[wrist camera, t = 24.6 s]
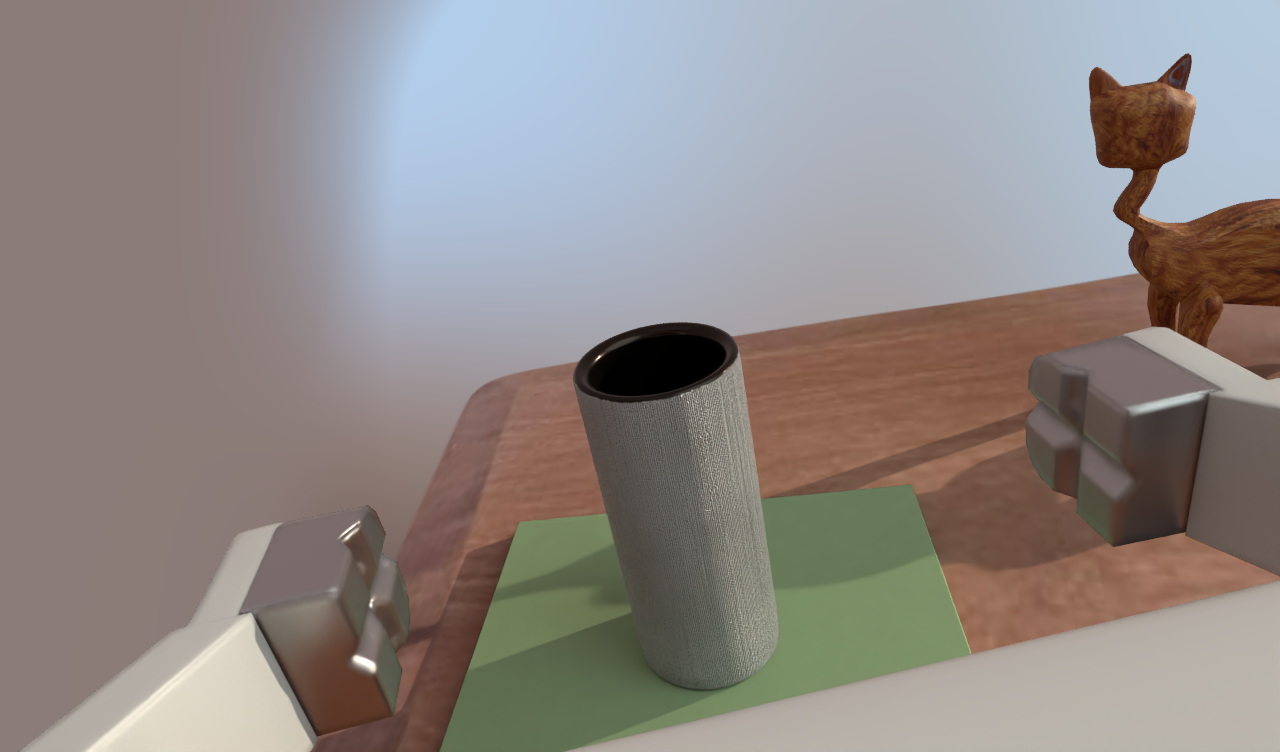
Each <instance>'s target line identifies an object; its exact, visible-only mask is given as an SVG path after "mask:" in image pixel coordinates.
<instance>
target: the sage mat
mask: <svg viewBox="0 0 1280 752" xmlns="http://www.w3.org/2000/svg"><path fill="white" fill-rule="evenodd" d="M761 504H762V511H763V517H764V524H765V531H766V538H767V545H768V552H769V559H770V566H771V573H772V580H773V587H774V594H775V601H776V608H777V615H778V629H779V634H778V641H777V645H776V648H775V650H774V652H773V654H772V655H771V657H770V658H769V660H768V661H767V662H766V664H765V665H764V666H763V667H762V668H761V669H759V670H758V671H757V672H756V673H754V674H753V675H752V676H750V677H748V678H747V679H745V680H743V681H741V682H738V683H736V684H733V685H730V686H727V687H723V688H717V689H709V690H699V689H690V688H685V687H681V686H678V685H675V684H672V683H670V682H668V681H666V680H665V679H663V678H661V677H660V676H659V675H658V674H656V673H655V672H654V671H653V670H652V668H651V667H650V666H649V664H648V663H647V661H646V659H645V657H644V654H643V651H642V648H641V645H640V642H639V638H638V634H637V630H636V627H635V623H634V619H633V615H632V611H631V607H630V603H629V599H628V595H627V591H626V587H625V583H624V579H623V575H622V572H621V568H620V564H619V560H618V556H617V552H616V548H615V544H614V540H613V536H612V532H611V528H610V524H609V520H608V516H607V514H599V515H588V516H578V517H568V518H557V519H547V520H536V521H526V522H519V523H518V526H517V529H516V531H515V534H514V537H513V540H512V543H511V546H510V549H509V552H508V555H507V557H506V560H505V563H504V566H503V569H502V572H501V575H500V578H499V580H498V583H497V586H496V589H495V592H494V595H493V598H492V601H491V604H490V606H489V609H488V612H487V615H486V618H485V621H484V624H483V627H482V629H481V632H480V635H479V638H478V641H477V644H476V647H475V650H474V653H473V655H472V658H471V661H470V664H469V667H468V670H467V673H466V676H465V678H464V681H463V684H462V687H461V690H460V693H459V696H458V699H457V702H456V704H455V707H454V710H453V713H452V716H451V719H450V722H449V725H448V728H447V730H446V733H445V736H444V739H443V742H442V745H441V748H440V751H439V752H565V751H569V750H573V749H578V748H582V747H586V746H590V745H594V744H598V743H603V742H607V741H611V740H615V739H619V738H624V737H628V736H632V735H636V734H640V733H645V732H649V731H653V730H657V729H661V728H665V727H670V726H674V725H678V724H682V723H686V722H691V721H695V720H699V719H703V718H707V717H712V716H716V715H720V714H724V713H728V712H732V711H737V710H741V709H745V708H749V707H753V706H758V705H762V704H766V703H770V702H774V701H779V700H783V699H787V698H791V697H795V696H799V695H804V694H808V693H812V692H816V691H820V690H825V689H829V688H833V687H837V686H841V685H846V684H850V683H854V682H858V681H862V680H866V679H871V678H875V677H879V676H883V675H887V674H891V673H895V672H900V671H904V670H908V669H912V668H916V667H920V666H924V665H929V664H933V663H937V662H941V661H945V660H949V659H953V658H958V657H962V656H966V655H970V654H972V653H971V651H970V648H969V645H968V642H967V639H966V637H965V634H964V631H963V628H962V625H961V622H960V620H959V617H958V614H957V611H956V608H955V605H954V603H953V600H952V597H951V594H950V591H949V588H948V586H947V583H946V580H945V577H944V574H943V572H942V569H941V566H940V563H939V560H938V557H937V555H936V552H935V549H934V546H933V543H932V540H931V538H930V535H929V532H928V529H927V526H926V523H925V521H924V518H923V515H922V512H921V509H920V507H919V504H918V501H917V498H916V495H915V492H914V490H913V487H912V485H902V486H892V487H881V488H871V489H860V490H850V491H840V492H829V493H819V494H808V495H798V496H787V497H777V498H766V499H761Z"/></svg>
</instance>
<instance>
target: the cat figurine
mask: <svg viewBox="0 0 1280 752" xmlns="http://www.w3.org/2000/svg"><path fill="white" fill-rule="evenodd" d="M1191 62H1192V61H1191V55H1190V54H1189V53H1188V54H1185V55H1184V56H1182V57H1181V58H1180V59H1179V60H1178V61H1177V62H1176V63H1175V64H1174V65H1173V66H1172V67H1171V68H1170V69H1169V70H1168V71H1167V72H1166V73H1165V74H1164V75H1163V76H1162V77H1160V78H1159V79H1158V80H1157V81H1155V82H1150V83H1143V84H1137V85H1131V86H1121V85H1120V84H1119V83H1118V82H1117V81H1116V80H1115V79H1114V78H1113V77H1112V76H1110V75H1109V74H1108V73H1107V72H1105V71H1104V70H1102V69H1101V68H1098V67H1096V68H1094V69H1093V70H1092V71H1091V74H1090V77H1089V90H1090V99H1091V103H1090V115H1091V122H1092V127H1093V131H1094V136H1095V142H1096V155H1097V158H1098V161H1099V163H1100V164H1101V165H1102V166H1105V167H1108V168H1130V169H1132V170H1133V177H1132V180H1131V182H1130V183H1129V185H1128V186H1127V187H1126V188H1125V190H1124V191H1123V192H1122V194H1121V195H1120V197H1119V198H1118V200H1117V201H1116V203H1115V205H1114V209H1113V212H1114V213H1115V215H1116V217H1117V218H1119V219H1120V220H1121V221H1123V222H1125V223H1127V224H1128V225H1130V226H1131V227H1133V228H1134V232H1133V236H1132V237H1131V239H1130V241H1129V256H1130V259H1131V261H1132V263H1133V265H1134V267H1135V268H1136V269H1137V271H1138V272H1139V273H1140V274H1141V275H1142V276H1143V277H1144V278H1145V279H1146V280H1147V281H1149V282H1150V285H1149V290H1148V310H1149V315H1150V320H1151V324H1152V327H1164V328H1169V329H1171V330H1173V331H1174V332H1176V329H1177V309H1178V304H1179V302H1180V308H1179V320H1178V334H1180V335H1182V336H1184V337H1186V338H1188V339H1190V340H1191V341H1193V342H1195V343H1197V344H1199V345H1201V346H1203V347H1205V348H1207V341H1208V337H1209V335H1210V333H1211V331H1212V329H1213V327H1214V326H1215V324H1216V322H1217V321H1218V319H1219V318H1220V315H1221V313H1222V310H1223V303H1225V304H1243V305H1263V306H1280V199H1265V200H1258V201H1252V202H1245V203H1240V204H1236V205H1233V206H1230V207H1227V208H1223V209H1220V210H1218V211H1215V212H1213V213H1211V214H1208V215H1206V216H1204V217H1201V218H1198V219H1195V220H1193V221H1190V222H1187V223H1164V222H1159V221H1156V220H1152V219H1150V218H1147V217H1145V216H1143V215H1141V214H1140V207H1141V206H1142V204H1143V203H1144V202H1145V200H1146V199H1147V197H1148V195H1149V194H1150V192H1151V190H1152V188H1153V186H1154V184H1155V182H1156V178H1157V175H1158V172H1159V169H1160V168H1161V167H1162V165H1163V164H1165V163H1167V162H1169V161H1172V160H1174V159H1176V158H1178V157H1180V156H1181V155H1183V154H1185V153H1186V151H1187V149H1188V144H1189V136H1190V130H1191V127H1192V123H1193V119H1194V115H1195V109H1196V100H1195V97H1193V96H1192V95H1191V94H1188V93H1187V92H1185V89H1186V85H1187V81H1188V77H1189V73H1190V70H1191Z"/></svg>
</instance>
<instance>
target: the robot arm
mask: <svg viewBox="0 0 1280 752" xmlns="http://www.w3.org/2000/svg"><path fill="white" fill-rule="evenodd" d="M1028 389H1029V391H1030V392H1031V393H1032V394H1033V395H1034V396H1035V397H1036V399H1037V400H1038V401H1039V402H1038V403H1037V405H1036V406H1035V408H1034V409H1033V411H1032V412H1031V414H1030V415H1029V416H1028V418H1027V419H1026V445H1027V448H1028V452H1029V455H1030V458H1031V462H1032V464H1033V466H1034V468H1035V469H1036V471H1037V473H1038V474H1039V476H1040V477H1041V479H1042V480H1043V481H1044V482H1045V483H1046V484H1047V485H1048V486H1049V487H1050V488H1051V489H1052V490H1053V491H1056V492H1059V493H1062V494H1065V495H1068V496H1071V497H1074V498H1077V511H1076V513H1077V514H1078V515H1080V516H1081V517H1082V518H1083V519H1084V520H1085V521H1086V522H1087V523H1088V524H1089V525H1090V526H1091V527H1092V528H1093V529H1094V530H1095V531H1097V532H1098V533H1099V534H1100V535H1101V536H1102V537H1103V538H1104V539H1105V540H1106V541H1107V542H1108V543H1109V544H1110V545H1111V546H1112V547H1116V546H1121V545H1125V544H1130V543H1135V542H1140V541H1145V540H1150V539H1154V538H1159V537H1164V536H1169V535H1174V534H1179V533H1183V532H1186V534H1185V535H1186V536H1188V537H1190V538H1193V539H1195V540H1197V541H1199V542H1202V543H1204V544H1206V545H1209V546H1211V547H1213V548H1216V549H1218V550H1220V551H1223V552H1225V553H1227V554H1230V555H1232V556H1234V557H1237V558H1239V559H1241V560H1244V561H1246V562H1248V563H1251V564H1253V565H1255V566H1257V567H1260V568H1262V569H1264V570H1267V571H1269V572H1271V573H1274V574H1276V575H1278V576H1280V378H1276V379H1272V380H1265V379H1263V378H1262V377H1260V376H1258V375H1256V374H1254V373H1252V372H1250V371H1248V370H1246V369H1245V368H1243V367H1241V366H1239V365H1237V364H1235V363H1233V362H1231V361H1229V360H1227V359H1226V358H1224V357H1222V356H1220V355H1218V354H1216V353H1214V352H1212V351H1210V350H1209V349H1207V348H1205V347H1203V346H1201V345H1199V344H1197V343H1195V342H1193V341H1191V340H1190V339H1188V338H1186V337H1184V336H1182V335H1180V334H1178V333H1176V332H1174V331H1173V330H1171V329H1169V328H1164V327H1150V328H1146V329H1142V330H1139V331H1135V332H1131V333H1127V334H1123V335H1120V336H1116V337H1113V338H1109V339H1105V340H1101V341H1097V342H1093V343H1089V344H1085V345H1081V346H1077V347H1073V348H1069V349H1065V350H1061V351H1057V352H1053V353H1049V354H1045V355H1041V356H1038V357H1034V359H1033V362H1032V364H1031V367H1030V369H1029V378H1028ZM385 535H386V533H385V531H384V529H383V527H382V524H381V522H380V520H379V517H378V515H377V513H376V511H375V510H373V509H372V508H371V507H370V506H368V505H366V506H361V507H356V508H352V509H347V510H342V511H337V512H332V513H327V514H322V515H317V516H312V517H308V518H303V519H298V520H293V521H288V522H285V523H276V524H272V525H268V526H264V527H260V528H256V529H251V530H247V531H244V532H242V533H239V534H237V535H235V536H234V538H233V540H232V542H231V543H230V545H229V547H228V549H227V551H226V553H225V555H224V557H223V559H222V561H221V563H220V564H219V566H218V568H217V570H216V572H215V574H214V576H213V578H212V580H211V582H210V584H209V586H208V588H207V590H206V591H205V593H204V595H203V597H202V599H201V601H200V603H199V605H198V607H197V609H196V610H195V613H194V614H193V616H192V618H191V620H190V622H189V624H188V626H187V627H185V628H181V629H177V630H173V631H171V632H170V633H169V634H168V635H166V636H165V637H164V638H162V639H161V640H160V641H159V642H157V643H156V644H155V645H154V646H152V647H151V648H150V649H149V650H147V651H146V652H145V653H143V654H142V655H141V656H140V657H138V658H137V659H136V660H135V661H133V662H132V663H131V664H129V665H128V666H127V667H126V668H124V669H123V670H122V671H121V672H119V673H118V674H117V675H115V676H114V677H113V678H112V679H110V680H109V681H108V682H107V683H105V684H104V685H103V686H102V687H100V688H99V689H98V690H97V691H95V692H94V693H93V694H91V695H90V696H89V697H87V698H86V699H85V700H84V701H82V702H81V703H80V704H79V705H77V706H76V707H75V708H73V709H72V710H71V711H70V712H68V713H67V714H66V715H65V716H63V717H62V718H61V719H60V720H58V721H57V722H56V723H54V724H53V725H52V726H51V727H49V728H48V729H47V730H46V731H44V732H43V733H42V734H41V735H39V736H38V737H37V738H35V739H34V740H33V741H32V742H30V743H29V744H28V745H26V746H25V747H24V748H23V749H21V750H20V751H19V752H310V751H311V750H312V748H313V747H314V746H315V744H316V743H317V742H318V738H317V736H321V735H324V734H328V733H332V732H336V731H340V730H343V729H347V728H351V727H355V726H358V725H362V724H366V723H370V722H374V721H377V720H381V719H385V718H389V717H393V716H394V714H395V708H396V702H397V697H398V691H399V685H400V680H401V674H402V668H401V665H400V663H399V661H398V658H397V656H396V654H395V653H396V652H397V651H398V650H399V649H400V648H401V647H402V646H403V644H404V643H405V642H406V641H407V639H408V632H409V625H410V614H409V598H408V594H407V590H406V586H405V581H404V578H403V575H402V573H401V570H400V568H399V565H398V563H397V562H395V561H394V560H392V559H391V558H389V557H387V556H385V555H384V554H382V553H381V552H382V548H383V543H384V539H385ZM565 752H1280V581H1276V582H1272V583H1267V584H1263V585H1259V586H1255V587H1251V588H1246V589H1242V590H1238V591H1234V592H1230V593H1226V594H1221V595H1217V596H1213V597H1209V598H1205V599H1200V600H1196V601H1192V602H1188V603H1184V604H1179V605H1175V606H1171V607H1167V608H1163V609H1159V610H1154V611H1150V612H1146V613H1142V614H1138V615H1133V616H1129V617H1125V618H1121V619H1117V620H1112V621H1108V622H1104V623H1100V624H1096V625H1092V626H1087V627H1083V628H1079V629H1075V630H1071V631H1066V632H1062V633H1058V634H1054V635H1050V636H1045V637H1041V638H1037V639H1033V640H1029V641H1025V642H1020V643H1016V644H1012V645H1008V646H1004V647H999V648H995V649H991V650H987V651H983V652H978V653H974V654H970V655H966V656H962V657H958V658H953V659H949V660H945V661H941V662H937V663H933V664H929V665H924V666H920V667H916V668H912V669H908V670H904V671H900V672H895V673H891V674H887V675H883V676H879V677H875V678H871V679H866V680H862V681H858V682H854V683H850V684H846V685H841V686H837V687H833V688H829V689H825V690H820V691H816V692H812V693H808V694H804V695H799V696H795V697H791V698H787V699H783V700H779V701H774V702H770V703H766V704H762V705H758V706H753V707H749V708H745V709H741V710H737V711H732V712H728V713H724V714H720V715H716V716H712V717H707V718H703V719H699V720H695V721H691V722H686V723H682V724H678V725H674V726H670V727H665V728H661V729H657V730H653V731H649V732H645V733H640V734H636V735H632V736H628V737H624V738H619V739H615V740H611V741H607V742H603V743H598V744H594V745H590V746H586V747H582V748H578V749H573V750H569V751H565Z"/></svg>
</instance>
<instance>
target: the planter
mask: <svg viewBox="0 0 1280 752" xmlns="http://www.w3.org/2000/svg"><path fill="white" fill-rule="evenodd" d="M573 382H574V386H575V390H576V394H577V398H578V402H579V406H580V410H581V414H582V418H583V422H584V426H585V430H586V434H587V438H588V442H589V446H590V450H591V454H592V457H593V461H594V465H595V469H596V473H597V477H598V481H599V485H600V489H601V493H602V497H603V501H604V505H605V509H606V513H607V516H608V520H609V524H610V528H611V532H612V536H613V540H614V544H615V548H616V552H617V556H618V560H619V564H620V568H621V572H622V575H623V579H624V583H625V587H626V591H627V595H628V599H629V603H630V607H631V611H632V615H633V619H634V623H635V627H636V630H637V634H638V638H639V642H640V645H641V648H642V651H643V654H644V657H645V659H646V661H647V663H648V664H649V666H650V667H651V668H652V670H653V671H654V672H655V673H656V674H658V675H659V676H660V677H661V678H663V679H665V680H666V681H668V682H670V683H672V684H675V685H678V686H681V687H685V688H690V689H699V690H709V689H717V688H723V687H727V686H730V685H733V684H736V683H738V682H741V681H743V680H745V679H747V678H748V677H750V676H752V675H753V674H754V673H756V672H757V671H758V670H759V669H761V668H762V667H763V666H764V665H765V664H766V662H767V661H768V660H769V658H770V657H771V655H772V654H773V652H774V650H775V648H776V645H777V641H778V634H779V629H778V615H777V608H776V601H775V594H774V587H773V580H772V573H771V566H770V559H769V552H768V545H767V538H766V531H765V524H764V517H763V511H762V504H761V497H760V490H759V483H758V476H757V469H756V462H755V455H754V448H753V441H752V434H751V427H750V420H749V413H748V407H747V400H746V393H745V386H744V379H743V372H742V365H741V358H740V352H739V347H738V344H737V343H736V341H735V340H734V338H733V337H732V336H730V335H729V334H728V333H726V332H725V331H723V330H721V329H718V328H716V327H713V326H709V325H705V324H699V323H687V322H685V323H684V322H681V323H680V322H678V323H663V324H656V325H650V326H645V327H641V328H637V329H633V330H630V331H627V332H624V333H621V334H619V335H616V336H614V337H612V338H609V339H607V340H605V341H604V342H602V343H600V344H598V345H597V346H595V347H594V348H593V349H591V350H590V351H589V352H587V353H586V354H585V355H584V356H583V357H582V359H581V360H580V361H579V362H578V364H577V366H576V368H575V370H574V374H573Z"/></svg>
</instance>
